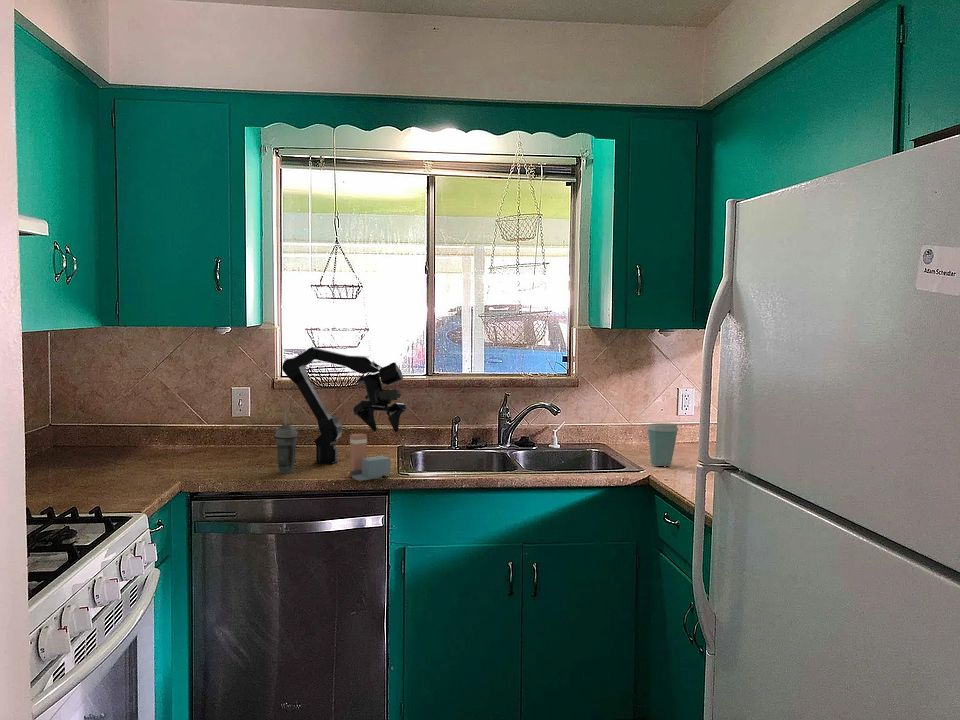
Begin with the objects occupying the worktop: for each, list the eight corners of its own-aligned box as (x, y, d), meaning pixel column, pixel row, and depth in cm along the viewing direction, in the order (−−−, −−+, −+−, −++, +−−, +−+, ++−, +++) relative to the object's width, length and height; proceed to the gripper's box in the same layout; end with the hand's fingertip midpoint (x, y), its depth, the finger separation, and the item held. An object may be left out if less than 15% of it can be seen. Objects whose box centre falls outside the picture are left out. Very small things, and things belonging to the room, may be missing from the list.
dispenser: (350, 477, 246) (350, 458, 245) (380, 473, 252) (380, 455, 252) (359, 481, 240) (359, 461, 240) (390, 477, 247) (390, 458, 246)
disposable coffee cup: (639, 465, 270) (641, 422, 269) (655, 461, 278) (657, 419, 277) (667, 470, 263) (668, 426, 262) (682, 465, 271) (684, 423, 270)
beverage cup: (277, 475, 248) (277, 412, 246) (272, 470, 254) (272, 410, 253) (300, 473, 251) (300, 411, 250) (294, 468, 257) (294, 409, 256)
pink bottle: (349, 474, 250) (349, 434, 249) (362, 473, 252) (362, 433, 252) (354, 476, 247) (354, 435, 246) (366, 474, 250) (367, 434, 249)
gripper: (366, 376, 254) (378, 419, 247) (409, 381, 267) (422, 421, 261) (347, 393, 260) (358, 435, 254) (390, 396, 273) (402, 436, 267)
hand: (386, 431), depth 258 cm, fingers open, 9 cm apart
